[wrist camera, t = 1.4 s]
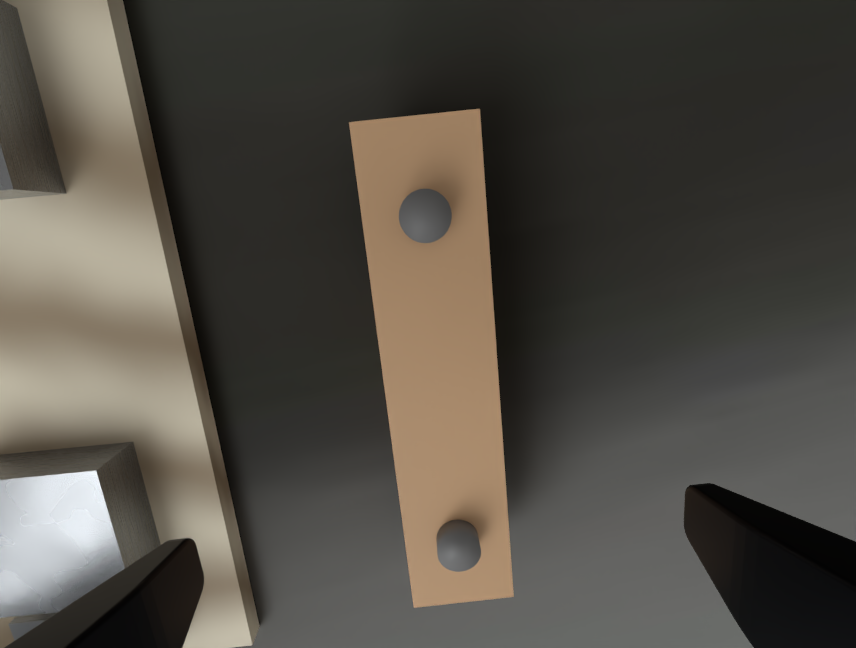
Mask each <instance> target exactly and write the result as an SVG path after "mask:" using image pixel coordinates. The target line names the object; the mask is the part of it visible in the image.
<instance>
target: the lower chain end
mask: <svg viewBox="0 0 856 648" xmlns="http://www.w3.org/2000/svg"><path fill="white" fill-rule="evenodd" d="M160 545H161V544H160V540H159V536H158V532H157V529H156V525H155V521H154V518H153V514H152V510H151V506H150V503H149V499H148V495H147V491H146V488H145V484H144V480H143V476H142V473H141V469H140V465H139V462H138V458H137V454H136V450H135V447H134V443H133V442H124V443H114V444H104V445H93V446H83V447H73V448H62V449H52V450H42V451H32V452H21V453H11V454H1V455H0V618H5V617H15V616H16V617H15V618H14V619H13V620H12V621H11V622H10V623H9V624H8V625H9V627H10V630H11V633H12V635H13V638H14V641H15V640H16V639H18V638H19V637H21V636H22V635H24V634H25V633H27V632H28V631H30V630H32V629H33V628H35V627H36V626H38V625H39V624H41V623H42V622H44V621H45V620H47V619H48V618H50V617H51V616H53V615H54V614H56V613H57V612H59V611H61V610H62V609H64V608H65V607H67V606H68V605H70V604H71V603H73V602H74V601H76V600H77V599H79V598H80V597H82V596H83V595H85V594H86V593H88V592H90V591H91V590H93V589H94V588H96V587H97V586H99V585H100V584H102V583H103V582H105V581H106V580H108V579H109V578H111V577H112V576H114V575H115V574H117V573H119V572H120V571H122V570H123V569H125V568H126V567H128V566H129V565H131V564H132V563H134V562H135V561H137V560H138V559H140V558H141V557H143V556H144V555H146V554H148V553H149V552H151V551H152V550H154V549H155V548H157V547H158V546H160Z"/></svg>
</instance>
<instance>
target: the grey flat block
mask: <svg viewBox="0 0 856 648" xmlns="http://www.w3.org/2000/svg"><path fill="white" fill-rule="evenodd" d="M58 194H67V193H66V189H65V185H64V181H63V178H62V174H61V170H60V166H59V163H58V159H57V155H56V151H55V148H54V144H53V140H52V137H51V133H50V129H49V125H48V122H47V118H46V114H45V110H44V107H43V103H42V99H41V95H40V92H39V88H38V84H37V80H36V77H35V73H34V69H33V66H32V62H31V58H30V54H29V51H28V47H27V43H26V39H25V36H24V32H23V28H22V24H21V21H20V17H19V13H18V9H17V8H16V7H14V6H12V5H11V4H9V3H7V2H5V1H3V0H0V200H3V199H14V198H25V197H36V196H47V195H58Z"/></svg>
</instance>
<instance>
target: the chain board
mask: <svg viewBox="0 0 856 648" xmlns="http://www.w3.org/2000/svg"><path fill="white" fill-rule="evenodd" d="M3 1H5V2H7V3H9V4H11V5H12V6H14V7H16V8H17V9H18V13H19V17H20V21H21V24H22V28H23V32H24V36H25V39H26V43H27V47H28V51H29V54H30V58H31V62H32V66H33V69H34V73H35V77H36V80H37V84H38V88H39V92H40V95H41V99H42V103H43V107H44V110H45V114H46V118H47V122H48V125H49V129H50V133H51V137H52V140H53V144H54V148H55V151H56V155H57V159H58V163H59V166H60V170H61V174H62V178H63V181H64V185H65V189H66V193H67V194H58V195H47V196H36V197H25V198H14V199H3V200H0V455H1V454H11V453H21V452H32V451H42V450H52V449H62V448H73V447H83V446H93V445H104V444H114V443H124V442H133V443H134V447H135V450H136V454H137V458H138V462H139V465H140V469H141V473H142V476H143V480H144V484H145V488H146V491H147V495H148V499H149V503H150V506H151V510H152V514H153V518H154V521H155V525H156V529H157V532H158V536H159V540H160V544H163V543H164V542H166V541H168V540H172V539H182V538H191V539H193V540H194V541H195V543H196V546H197V550H198V554H199V557H200V561H201V565H202V569H203V573H204V586H203V591H202V594H201V597H200V599H199V602H198V605H197V608H196V611H195V614H194V617H193V619H192V622H191V625H190V628H189V631H188V634H187V636H186V639H185V642H184V645H183V648H231V647H240V646H250V645H253V643H254V640H255V637H256V635H257V632H258V629H259V627H260V626H259V621H258V617H257V612H256V607H255V603H254V598H253V594H252V589H251V585H250V580H249V575H248V571H247V566H246V562H245V557H244V553H243V548H242V543H241V539H240V534H239V530H238V525H237V520H236V516H235V511H234V507H233V502H232V498H231V493H230V488H229V484H228V479H227V475H226V470H225V466H224V461H223V456H222V452H221V447H220V443H219V438H218V433H217V429H216V424H215V420H214V415H213V411H212V406H211V401H210V397H209V392H208V388H207V383H206V378H205V374H204V369H203V365H202V360H201V356H200V351H199V346H198V342H197V337H196V333H195V328H194V324H193V319H192V314H191V310H190V305H189V301H188V296H187V291H186V287H185V282H184V278H183V273H182V269H181V264H180V259H179V255H178V250H177V246H176V241H175V237H174V232H173V227H172V223H171V218H170V214H169V209H168V204H167V200H166V195H165V191H164V186H163V182H162V177H161V172H160V168H159V163H158V159H157V154H156V150H155V145H154V140H153V136H152V131H151V127H150V122H149V117H148V113H147V108H146V104H145V99H144V95H143V90H142V85H141V81H140V76H139V72H138V67H137V63H136V58H135V53H134V49H133V44H132V40H131V35H130V30H129V26H128V21H127V17H126V12H125V8H124V3H123V0H3ZM15 617H16V616H15ZM15 617H5V618H0V648H4V647H6V646H7V645H9V644H10V643H12V642H13V641H14V638H13V635H12V633H11V630H10V627H9V625H8V624H9V623H10V622H11V621H12V620H13V619H14V618H15Z"/></svg>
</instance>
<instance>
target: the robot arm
mask: <svg viewBox="0 0 856 648" xmlns="http://www.w3.org/2000/svg"><path fill="white" fill-rule="evenodd" d="M684 529H685V533H686V535H687V538H688V540H689V542H690V543H691V545H692V547H693V549H694V550H695V552H696V554H697V555H698V557H699V559H700V561H701V562H702V564H703V566H704V568H705V569H706V571H707V573H708V574H709V576H710V578H711V580H712V581H713V583H714V585H715V587H716V588H717V590H718V592H719V593H720V595H721V597H722V599H723V600H724V602H725V604H726V606H727V607H728V609H729V611H730V612H731V614H732V616H733V617H734V619H735V620H736V622H737V624H738V625H739V627H740V628H741V630H742V631H743V633H744V634H745V636H746V637H747V639H748V640H749V642H750V643H751V644H752V646H753V647H754V648H856V542H855V541H853V540H850V539H848V538H845V537H843V536H840V535H838V534H835V533H833V532H830V531H828V530H825V529H823V528H821V527H818V526H816V525H813V524H811V523H808V522H806V521H803V520H801V519H798V518H796V517H793V516H791V515H789V514H786V513H784V512H781V511H779V510H776V509H774V508H771V507H769V506H766V505H764V504H761V503H759V502H757V501H754V500H752V499H749V498H747V497H744V496H742V495H739V494H737V493H734V492H732V491H729V490H727V489H725V488H722V487H720V486H717V485H715V484H711V483H706V484H697V485H690V486H689V487H687V489H686V491H685V508H684ZM203 586H204V573H203V569H202V565H201V561H200V557H199V554H198V550H197V546H196V543H195V541H194V540H193V539H191V538H182V539H172V540H168V541H166V542H164V543H163V544H161V545H160V546H158V547H157V548H155V549H154V550H152V551H151V552H149V553H148V554H146V555H144V556H143V557H141V558H140V559H138V560H137V561H135V562H134V563H132V564H131V565H129V566H128V567H126V568H125V569H123V570H122V571H120V572H119V573H117V574H115V575H114V576H112V577H111V578H109V579H108V580H106V581H105V582H103V583H102V584H100V585H99V586H97V587H96V588H94V589H93V590H91V591H90V592H88V593H86V594H85V595H83V596H82V597H80V598H79V599H77V600H76V601H74V602H73V603H71V604H70V605H68V606H67V607H65V608H64V609H62V610H61V611H59V612H57V613H56V614H54V615H53V616H51V617H50V618H48V619H47V620H45V621H44V622H42V623H41V624H39V625H38V626H36V627H35V628H33V629H32V630H30V631H28V632H27V633H25V634H24V635H22V636H21V637H19V638H18V639H16V640H15V641H13V642H12V643H10V644H9V645H7V646H6V647H4V648H183V645H184V642H185V639H186V636H187V634H188V631H189V628H190V625H191V622H192V619H193V617H194V614H195V611H196V608H197V605H198V602H199V599H200V597H201V594H202V591H203Z"/></svg>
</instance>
